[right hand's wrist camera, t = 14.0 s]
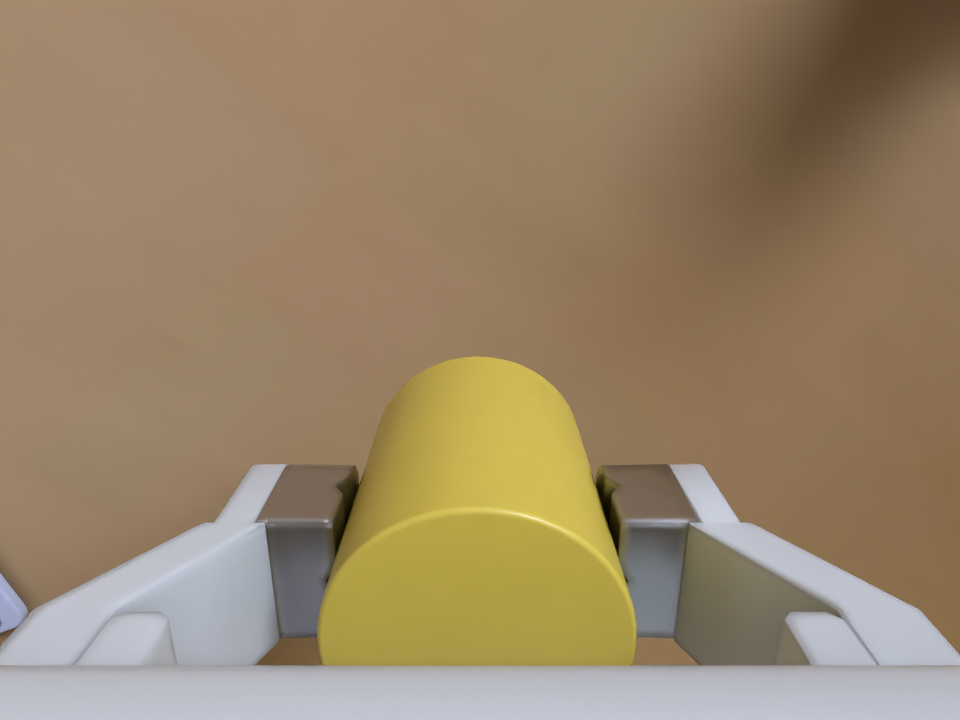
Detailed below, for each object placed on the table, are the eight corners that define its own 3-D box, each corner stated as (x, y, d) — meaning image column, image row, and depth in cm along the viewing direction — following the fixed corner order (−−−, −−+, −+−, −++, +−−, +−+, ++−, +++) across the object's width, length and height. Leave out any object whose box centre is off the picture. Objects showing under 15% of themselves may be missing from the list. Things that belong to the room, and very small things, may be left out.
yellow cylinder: (596, 368, 11) (669, 527, 7) (561, 545, 13) (605, 777, 8) (384, 343, 11) (322, 491, 7) (370, 526, 12) (309, 750, 8)
